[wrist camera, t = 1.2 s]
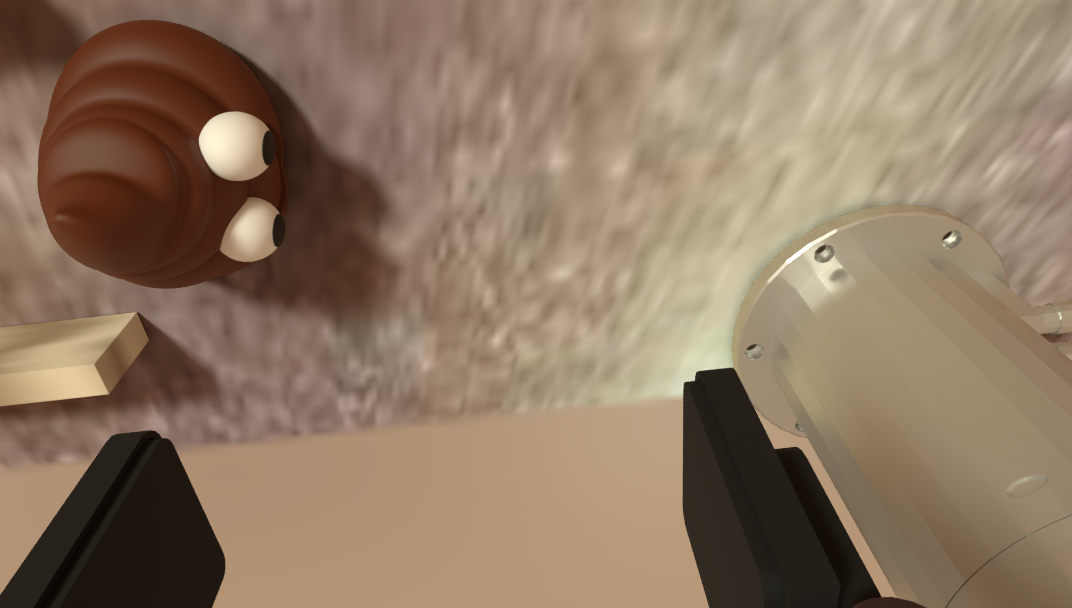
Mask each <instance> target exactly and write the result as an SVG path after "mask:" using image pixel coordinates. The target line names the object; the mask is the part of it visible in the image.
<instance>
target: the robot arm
mask: <svg viewBox="0 0 1072 608" xmlns="http://www.w3.org/2000/svg"><path fill="white" fill-rule="evenodd" d="M1065 333H1072V301H1067V302H1058V303H1049V304H1046V305H1044V306H1035V307H1033V306H1032V305H1031V304H1029V303H1027V302H1026V301H1024V300H1023V299H1022V298H1020V297H1019V296H1018V295H1017V294H1015V293H1014V292H1013V291H1012V290H1010V287H1009V279H1008V274H1007V271H1006V269H1005V267H1004V264H1003V262H1002V259H1001V257H1000V255H999V254H998V253H997V251H996V250H995V249H994V248H993V246H992V245H991V244H990V243H989V241H988V240H987V239H986V238H985V237H984V236H982V235H981V234H980V233H978V232H977V231H976V230H974V229H973V228H972V227H971V226H969V225H968V224H966V223H965V222H963V221H961V220H959V219H957V218H955V217H954V216H952V215H950V214H948V213H945V212H942V211H938V210H935V209H931V208H927V207H924V206H910V205H890V206H881V207H872V208H867V209H863V210H860V211H856V212H853V213H849V214H846V215H842V216H840V217H838V218H835V219H833V220H831V221H829V222H827V223H825V224H822V225H820V226H818V227H816V228H814V229H813V230H811V231H810V232H808V233H806V234H805V235H803V236H802V237H800V238H799V239H797V240H796V241H794V242H793V243H791V244H790V245H789V246H788V247H787V248H786V249H784V250H783V251H782V252H781V253H780V254H779V255H778V256H777V257H776V258H774V259H773V260H772V261H771V262H770V263H769V264H768V266H767V267H766V268H765V269H764V271H763V272H762V273H761V274H760V276H759V277H758V278H757V279H756V280H755V282H754V283H753V285H752V286H751V288H750V290H749V292H748V294H747V295H746V297H745V299H744V301H743V303H742V304H741V307H740V310H739V313H738V316H737V319H736V322H735V325H734V331H733V340H732V355H733V363H734V368H724V369H714V370H705V371H698V372H697V373H696V376H695V381H690V382H685V383H684V390H683V514H684V520H685V525H686V529H687V533H688V536H689V539H690V543H691V547H692V550H693V553H694V557H695V560H696V564H697V567H698V570H699V574H700V577H701V580H702V584H703V587H704V591H705V594H706V598H707V601H708V604H709V608H1072V341H1067V342H1058V343H1050V342H1049V341H1048V340H1047V339H1045V338H1044V337H1043V336H1042V334H1052V335H1055V334H1065ZM753 406H754V407H755V409H756V410H758V412H759V413H760V414H761V415H762V416H763V417H764V418H765V419H767V420H768V421H770V422H771V423H773V424H774V425H776V426H777V427H779V428H780V429H782V430H784V431H787V432H789V433H791V434H794V435H797V436H800V437H805V438H808V440H809V441H810V443H811V445H812V447H813V449H814V450H815V452H816V454H817V456H818V457H819V459H820V461H821V463H822V464H823V466H824V468H825V470H826V472H827V473H828V475H829V477H830V479H831V480H832V482H833V484H834V486H835V488H836V489H837V491H838V493H839V495H840V496H841V498H842V500H843V502H844V503H845V505H846V507H847V509H848V511H849V512H850V514H851V516H852V518H853V520H854V521H855V523H856V525H857V527H858V528H859V530H860V532H861V534H862V536H863V537H864V539H865V541H866V543H867V544H868V546H869V548H870V550H871V552H872V553H873V555H874V557H875V559H876V560H877V562H878V564H879V566H880V568H881V569H882V571H883V573H884V574H885V576H886V578H887V580H888V582H889V583H890V585H891V587H892V589H893V591H894V592H895V594H896V596H897V598H894V597H881V595H880V593H879V591H878V589H877V587H876V586H875V584H874V582H873V580H872V578H871V576H870V574H869V573H868V571H867V569H866V567H865V565H864V563H863V561H862V560H861V558H860V556H859V554H858V552H857V551H856V548H855V547H854V545H853V543H852V541H851V539H850V537H849V535H848V534H847V532H846V530H845V528H844V526H843V524H842V522H841V521H840V519H839V517H838V515H837V513H836V511H835V509H834V508H833V506H832V504H831V502H830V500H829V498H828V496H827V495H826V493H825V491H824V489H823V487H822V485H821V483H820V482H819V480H818V478H817V476H816V474H815V472H814V471H813V469H812V467H811V465H810V463H809V461H808V459H807V458H806V456H805V455H804V453H803V452H802V450H800V449H799V448H798V447H790V448H781V449H774V448H773V445H772V443H771V441H770V439H769V437H768V435H767V433H766V431H765V429H764V427H763V425H762V423H761V421H760V419H759V417H758V415H757V413H756V411H755V409H754V407H753ZM224 574H225V557H224V554H223V551H222V549H221V547H220V545H219V542H218V541H217V538H216V536H215V534H214V532H213V530H212V527H211V525H210V523H209V521H208V519H207V517H206V514H205V512H204V510H203V508H202V506H201V504H200V501H199V500H198V497H197V495H196V493H195V491H194V489H193V487H192V484H191V482H190V480H189V478H188V476H187V473H186V472H185V469H184V467H183V465H182V463H181V461H180V459H179V456H178V454H177V452H176V450H175V448H174V445H173V444H172V442H171V441H170V440H169V439H166V438H161V436H160V435H159V434H158V433H157V432H156V431H151V430H150V431H140V432H131V433H122V434H116V435H113V436H111V437H110V438H109V440H108V441H107V442H106V443H105V445H104V446H103V448H102V449H101V451H100V452H99V453H98V455H97V456H96V458H95V459H94V461H93V462H92V464H91V465H90V466H89V468H88V469H87V471H86V472H85V474H84V475H83V477H82V478H81V479H80V481H79V482H78V484H77V485H76V487H75V488H74V490H73V491H72V492H71V494H70V495H69V497H68V498H67V500H66V501H65V503H64V504H63V505H62V507H61V508H60V510H59V511H58V513H57V514H56V515H55V517H54V518H53V520H52V521H51V523H50V524H49V526H48V527H47V528H46V530H45V531H44V533H43V534H42V536H41V537H40V539H39V540H38V542H37V543H36V544H35V546H34V547H33V549H32V550H31V551H30V553H29V555H28V556H27V557H26V559H25V560H24V562H23V563H22V564H21V566H20V568H19V569H18V570H17V572H16V573H15V575H14V576H13V577H12V579H11V580H10V582H9V583H8V585H7V586H6V588H5V589H4V591H3V592H2V593H1V595H0V608H212V606H213V604H214V601H215V598H216V596H217V593H218V591H219V588H220V585H221V583H222V581H223V578H224Z"/></svg>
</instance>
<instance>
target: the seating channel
mask: <svg viewBox="0 0 1072 608" xmlns="http://www.w3.org/2000/svg"><path fill="white" fill-rule="evenodd" d="M148 341H149V339H148V337H147V334H146V332H145V330H144V328H143V325H142V323H141V321H140V319H139V316H138V314H137V312H135V313H126V314H117V315H108V316H99V317H90V318H81V319H72V320H63V321H54V322H45V323H36V324H27V325H18V326H9V327H0V406H7V405H16V404H25V403H34V402H43V401H52V400H61V399H70V398H79V397H88V396H97V395H106V394H110V392H111V391H112V390H113V388H114V387H115V386H116V384H117V383H118V381H119V380H120V379H121V377H122V376H123V375H124V373H125V372H126V371H127V369H128V368H129V367H130V365H131V364H132V363H133V361H134V360H135V359H136V357H137V356H138V355H139V353H140V352H141V351H142V349H143V348H144V346H145V345H146V344H147V342H148Z"/></svg>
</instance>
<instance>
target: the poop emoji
mask: <svg viewBox="0 0 1072 608" xmlns="http://www.w3.org/2000/svg"><path fill="white" fill-rule="evenodd" d="M283 153H284V146H283V139H282V133H281V129H280V125H279V121H278V118H277V115H276V112H275V110H274V107H273V105H272V103H271V101H270V99H269V97H268V95H267V93H266V91H265V89H264V88H263V86H262V84H261V83H260V81H259V80H258V79H257V77H256V76H255V75H254V73H253V72H252V71H251V70H250V68H249V67H248V66H247V65H246V64H245V63H244V62H243V61H242V60H241V59H240V58H239V57H238V56H237V55H236V54H235V53H233V52H232V51H231V50H230V49H228V48H227V47H226V46H224V45H223V44H222V43H220V42H219V41H217V40H215V39H214V38H212V37H210V36H208V35H206V34H204V33H202V32H200V31H198V30H195V29H193V28H190V27H187V26H184V25H180V24H176V23H172V22H166V21H157V20H139V21H131V22H126V23H121V24H118V25H115V26H112V27H110V28H107V29H105V30H103V31H101V32H99V33H98V34H96V35H95V36H93V37H92V38H90V39H89V40H88V41H86V42H85V43H84V44H83V45H82V46H81V47H80V48H79V49H78V50H77V51H76V52H75V53H74V55H73V56H72V57H71V59H70V60H69V61H68V63H67V64H66V66H65V68H64V69H63V71H62V73H61V75H60V77H59V79H58V81H57V84H56V86H55V89H54V92H53V95H52V98H51V102H50V107H49V111H48V118H47V121H46V124H45V126H44V129H43V133H42V136H41V141H40V146H39V156H38V192H39V198H40V202H41V206H42V209H43V212H44V215H45V218H46V221H47V224H48V227H49V229H50V232H51V234H52V235H53V237H54V239H55V240H56V242H57V243H58V244H59V245H60V246H61V248H62V249H63V250H64V251H65V252H66V253H67V254H69V255H70V256H71V257H72V258H74V259H75V260H77V261H78V262H80V263H81V264H83V265H85V266H87V267H90V268H92V269H95V270H98V271H100V272H102V273H105V274H107V275H110V276H113V277H116V278H120V279H124V280H126V281H129V282H131V283H134V284H138V285H141V286H146V287H152V288H164V289H169V288H181V287H187V286H191V285H195V284H199V283H202V282H204V281H207V280H209V279H213V278H218V277H222V276H225V275H228V274H231V273H233V272H235V271H238V270H240V269H241V268H243V267H245V266H247V265H248V264H250V263H251V262H252V261H257V260H261V259H263V258H265V257H267V256H269V255H270V254H271V253H273V252H274V251H275V250H276V249H277V247H279V246H280V245H281V244H282V242H283V239H284V235H285V222H284V216H285V212H286V208H287V200H288V183H287V177H286V172H285V169H284V166H283Z"/></svg>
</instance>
